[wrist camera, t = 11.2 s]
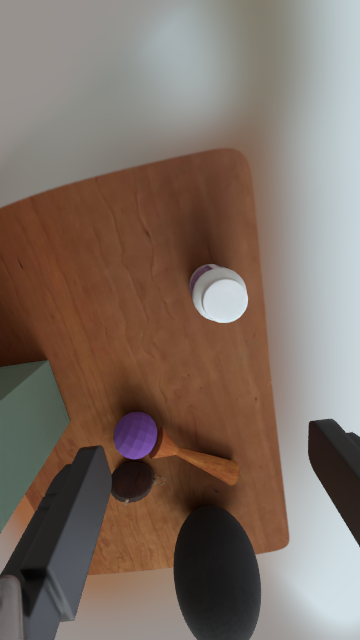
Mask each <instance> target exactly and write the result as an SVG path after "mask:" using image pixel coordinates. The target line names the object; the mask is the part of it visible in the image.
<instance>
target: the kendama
mask: <svg viewBox="0 0 360 640" xmlns="http://www.w3.org/2000/svg"><path fill="white" fill-rule="evenodd" d="M114 443H115V446H116V449H117V450H118V451H119V452H120V453H121V455H123V456H124V457H127V458H129V459H140V458H142V457H144V456H145V455H147V454H148V453H149V457H150V458H151V459H154V458H160V457H166V456H172V455H177V456H179V457H181V458H182V459H184V460H186V461H188V462H190V463H191V464H193V465H195V466H197V467H199V468H200V469H202V470H204V471H206V472H208V473H209V474H211V475H213V476H215V477H217V478H218V479H220V480H222V481H224V482H225V483H227V484H229V485H234V484H235V483H236V482H237V480H238V477H239V467H238V464H237V463H236V462H235V461H231V460H227V459H223V458H220V457H216V456H212V455H208V454H204V453H200V452H196V451H192V450H188V449H185V448H181V447H178V446H177V445H176V444H175V442H174V441H173V440H172V439H171V438H170V436H169V435H168V434H167V433H166V431H165V430H164V429H163V428H162V427H160V428H159V429H158V430H157V428H156V424H155V422H154V420H153V419H152V418H151V417H150V416H149V415H148V414H145V413H143V412H131V413H129V414H127V415H125V416H124V417H123V418H122V419H121V420H120V421H119V422H118V423H117V425H116V427H115V431H114Z"/></svg>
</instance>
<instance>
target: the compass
mask: <svg viewBox="0 0 360 640" xmlns="http://www.w3.org/2000/svg"><path fill="white" fill-rule="evenodd" d="M111 476H112V487H111V494H112V495H113V496H114V497H115V499H117V500H119V501H121V502H125V506H126V504H127V503H131V502H136V501H139V500H141V499H142V498H144V497H145V496H146V495H147V494H148V493H149V492H150V490H151V488H152V484H153V482H155V484H157V483H156V482H157V479H156V478H158V477H161V476H158V477H156V478H154V473H153V471H152V469H151V468H150V467H149V466H147V465H146V464H144V463H141V462H128V463H124V464H122V465H121V466H119V467H118V468H117V469H115V470H114V472H113V473H112V475H111ZM161 478H163V479H164V477H161ZM164 483H165V479H164ZM164 483H162V484H157V485H163V484H164Z"/></svg>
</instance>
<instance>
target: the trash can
mask: <svg viewBox="0 0 360 640" xmlns="http://www.w3.org/2000/svg"><path fill="white" fill-rule="evenodd" d="M69 423H70V419H69V416H68V413H67V411H66V408H65V405H64V402H63V400H62V397H61V394H60V391H59V388H58V386H57V383H56V380H55V377H54V375H53V372H52V369H51V366H50V363H49V361H48V360H45V361H38V362H31V363H24V364H17V365H11V366H4V367H0V533H1V531H2V530H3V528H4V526H5V525H6V523H7V522H8V520H9V519H10V517H11V515H12V514H13V512H14V510H15V509H16V507H17V506H18V504H19V503H20V501H21V499H22V498H23V496H24V495H25V493H26V491H27V490H28V488H29V487H30V485H31V483H32V482H33V480H34V479H35V477H36V476H37V474H38V472H39V471H40V469H41V468H42V466H43V464H44V463H45V461H46V460H47V458H48V456H49V455H50V453H51V452H52V450H53V448H54V447H55V445H56V444H57V442H58V440H59V439H60V437H61V436H62V434H63V432H64V431H65V429H66V428H67V426H68V424H69Z"/></svg>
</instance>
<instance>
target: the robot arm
mask: <svg viewBox="0 0 360 640" xmlns="http://www.w3.org/2000/svg"><path fill="white" fill-rule="evenodd" d="M308 439H309V440H308V455H309V460H310V463H311V466H312V468H313V470H314V472H315V473H316V475H317V477H318V478H319V480H320V482H321V483H322V485H323V487H324V488H325V490H326V492H327V493H328V495H329V497H330V498H331V500H332V502H333V503H334V505H335V507H336V508H337V510H338V512H339V513H340V515H341V517H342V518H343V520H344V521H345V523H346V525H347V526H348V528H349V530H350V531H351V533H352V535H353V536H354V538H355V540H356V541H357V543H358V544H359V546H360V437H359V436H358V435H356V434H355V433H353V432H351V433H345V431H344V430H343V429H342V428H341V427H340V426H339V425H338V424H337V422H336V421H334V420H333V419H324V420H316V421H310V422H309V436H308ZM111 487H112V476H111V472H110V468H109V465H108V462H107V459H106V455H105V452H104V449H103V447H102V446H101V445H99V446H90V447H82V448H80V449H79V451H78V453H77V455H76V457H75V459H74V461H73V463H72V464H67V465H65V467H64V468H63V469H62V470H61V471H60V472H59V473H58V474H57V475H56V476H55V477H54V479H53V481H52V482H51V484H50V486H49V488H48V490H47V492H46V493H45V497H43V499H42V501H41V502H40V504H39V506H38V510H37V511H36V512H35V513H34V515H33V517H32V519H31V521H30V522H29V524H28V526H27V528H26V530H25V532H24V533H23V535H22V537H21V539H20V541H19V543H18V544H17V546H16V548H15V550H14V552H13V553H12V555H11V557H10V559H9V561H8V563H7V564H6V566H5V568H4V570H3V571H2V573H1V574H0V640H54V638H55V635H56V632H57V629H58V626H59V623H60V622H64V621H74V620H75V616H76V613H77V609H78V606H79V602H80V599H81V595H82V591H83V588H84V585H85V581H86V577H87V574H88V570H89V567H90V563H91V560H92V556H93V553H94V549H95V546H96V542H97V539H98V535H99V532H100V528H101V525H102V521H103V518H104V514H105V511H106V507H107V503H108V500H109V496H110V493H111Z"/></svg>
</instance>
